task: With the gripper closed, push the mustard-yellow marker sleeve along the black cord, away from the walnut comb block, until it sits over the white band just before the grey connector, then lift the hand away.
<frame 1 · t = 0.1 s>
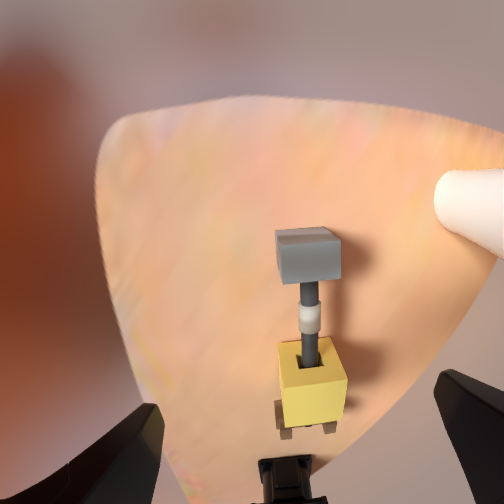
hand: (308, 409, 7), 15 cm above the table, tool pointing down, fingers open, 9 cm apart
sleeve: (309, 381, 21), point 3 cm above the table, slide at 0.0 cm
cord fixture: (303, 339, 23), on the table
drinking glass: (451, 199, 20), on the table
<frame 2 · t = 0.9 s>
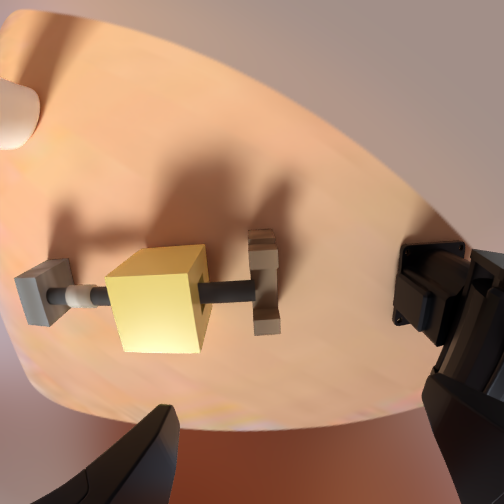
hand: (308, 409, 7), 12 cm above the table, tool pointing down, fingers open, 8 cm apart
sleeve: (165, 294, 16), point 3 cm above the table, slide at 0.0 cm
cord fixture: (151, 277, 19), on the table
drinking glass: (23, 118, 16), on the table
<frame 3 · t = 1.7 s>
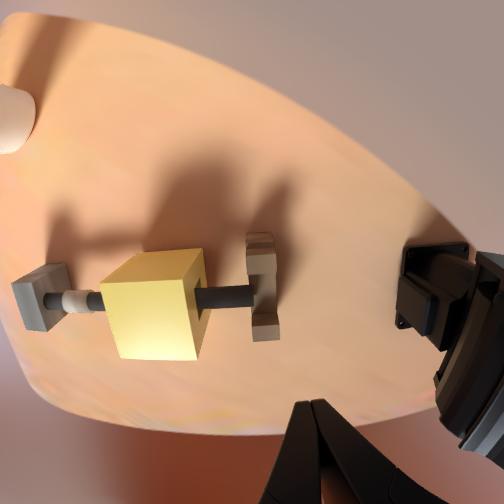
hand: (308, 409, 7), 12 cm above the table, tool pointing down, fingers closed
sleeve: (162, 300, 16), point 3 cm above the table, slide at 0.0 cm
cord fixture: (148, 281, 19), on the table
drinking glass: (19, 122, 16), on the table
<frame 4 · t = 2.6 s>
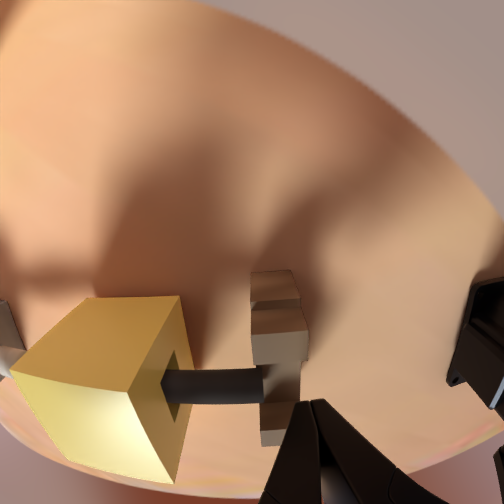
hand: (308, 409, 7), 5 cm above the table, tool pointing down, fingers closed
sleeve: (117, 382, 9), point 3 cm above the table, slide at 0.0 cm
cord fixture: (106, 337, 12), on the table
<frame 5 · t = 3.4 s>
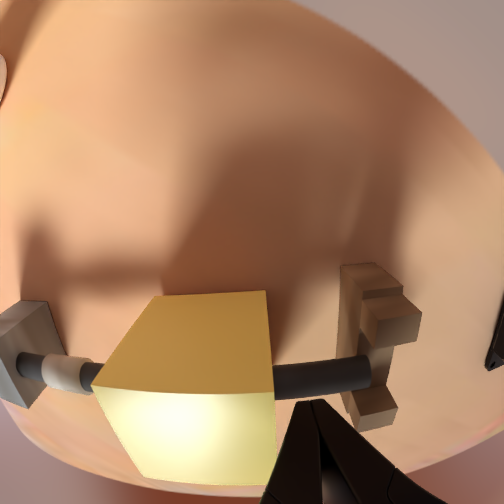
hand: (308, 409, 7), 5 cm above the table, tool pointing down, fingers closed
sleeve: (205, 385, 9), point 3 cm above the table, slide at 0.2 cm, touching gripper
cord fixture: (176, 337, 12), on the table
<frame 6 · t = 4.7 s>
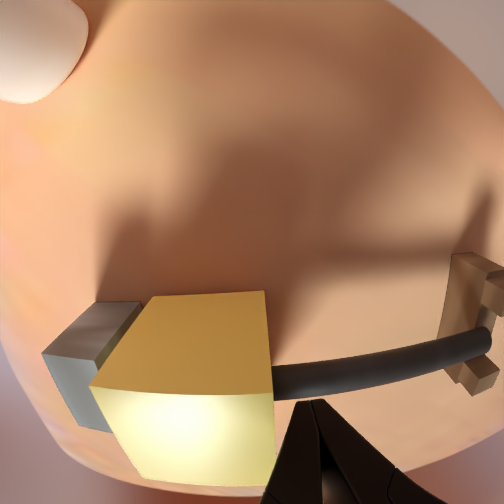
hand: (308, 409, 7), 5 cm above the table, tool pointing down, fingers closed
sleeve: (204, 386, 9), point 3 cm above the table, slide at 6.0 cm, touching gripper
cord fixture: (308, 330, 12), on the table
drinking glass: (51, 56, 9), on the table
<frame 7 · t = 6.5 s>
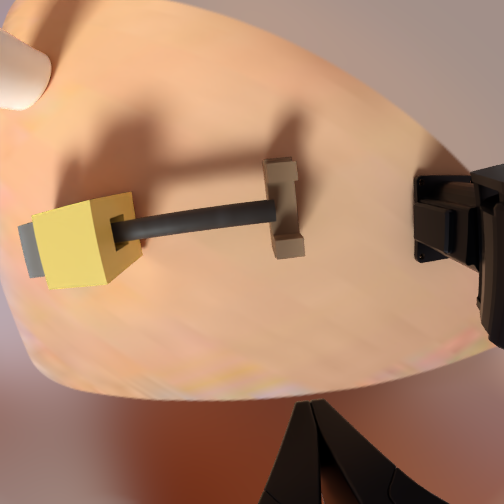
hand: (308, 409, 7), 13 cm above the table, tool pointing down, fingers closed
sleeve: (90, 237, 16), point 3 cm above the table, slide at 6.0 cm
cord fixture: (162, 218, 19), on the table
drinking glass: (33, 82, 16), on the table
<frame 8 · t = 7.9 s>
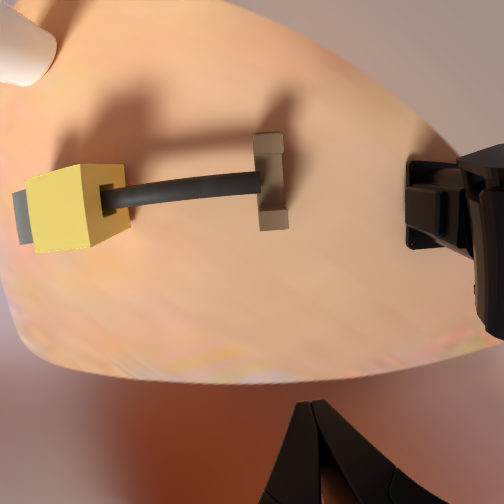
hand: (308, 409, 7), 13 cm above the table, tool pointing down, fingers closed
sleeve: (79, 204, 16), point 3 cm above the table, slide at 6.0 cm
cord fixture: (152, 191, 19), on the table
drinking glass: (39, 61, 15), on the table
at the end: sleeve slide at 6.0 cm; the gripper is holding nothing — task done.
